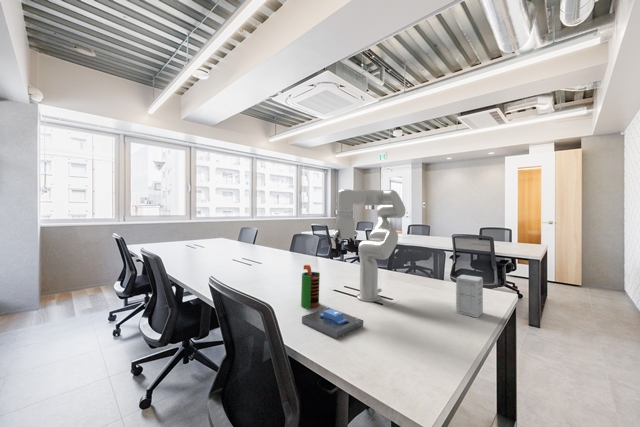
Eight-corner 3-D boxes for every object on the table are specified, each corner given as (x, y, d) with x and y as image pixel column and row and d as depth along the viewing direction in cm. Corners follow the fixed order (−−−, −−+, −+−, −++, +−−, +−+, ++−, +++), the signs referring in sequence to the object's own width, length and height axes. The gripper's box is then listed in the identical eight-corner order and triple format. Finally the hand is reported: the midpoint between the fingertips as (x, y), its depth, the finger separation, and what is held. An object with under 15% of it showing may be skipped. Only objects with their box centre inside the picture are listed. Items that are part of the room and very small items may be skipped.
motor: (316, 309, 132) (317, 267, 132) (298, 307, 134) (299, 266, 134) (320, 302, 142) (321, 263, 142) (304, 301, 144) (304, 263, 144)
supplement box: (483, 312, 130) (483, 277, 130) (478, 318, 123) (478, 280, 123) (461, 307, 137) (461, 274, 137) (455, 312, 130) (455, 277, 130)
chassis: (328, 313, 127) (328, 307, 127) (363, 326, 113) (363, 320, 113) (301, 322, 116) (302, 316, 116) (336, 339, 102) (336, 331, 102)
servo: (327, 319, 120) (327, 306, 120) (347, 328, 112) (347, 314, 112) (319, 322, 117) (319, 309, 117) (339, 331, 109) (339, 316, 109)
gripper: (351, 214, 142) (350, 248, 142) (327, 215, 130) (327, 251, 130) (362, 215, 136) (362, 249, 137) (339, 215, 124) (338, 253, 125)
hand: (345, 250), depth 133 cm, fingers open, 9 cm apart
